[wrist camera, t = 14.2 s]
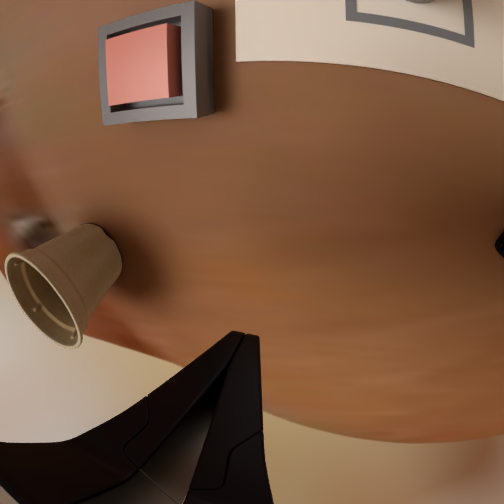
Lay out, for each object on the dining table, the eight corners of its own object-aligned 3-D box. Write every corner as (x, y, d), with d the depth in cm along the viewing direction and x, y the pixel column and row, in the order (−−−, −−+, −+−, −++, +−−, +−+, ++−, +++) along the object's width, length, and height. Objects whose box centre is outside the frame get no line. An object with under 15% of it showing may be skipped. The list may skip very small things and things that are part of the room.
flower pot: (100, 189, 23) (23, 238, 16) (155, 281, 26) (99, 348, 19) (54, 225, 27) (-5, 269, 20) (100, 297, 31) (52, 350, 24)
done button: (186, 27, 14) (166, 23, 12) (188, 94, 16) (168, 97, 15) (128, 40, 15) (105, 39, 13) (131, 101, 17) (108, 105, 16)
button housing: (212, 8, 14) (194, 0, 12) (214, 113, 17) (197, 117, 15) (121, 29, 16) (97, 27, 14) (125, 119, 19) (103, 125, 17)
